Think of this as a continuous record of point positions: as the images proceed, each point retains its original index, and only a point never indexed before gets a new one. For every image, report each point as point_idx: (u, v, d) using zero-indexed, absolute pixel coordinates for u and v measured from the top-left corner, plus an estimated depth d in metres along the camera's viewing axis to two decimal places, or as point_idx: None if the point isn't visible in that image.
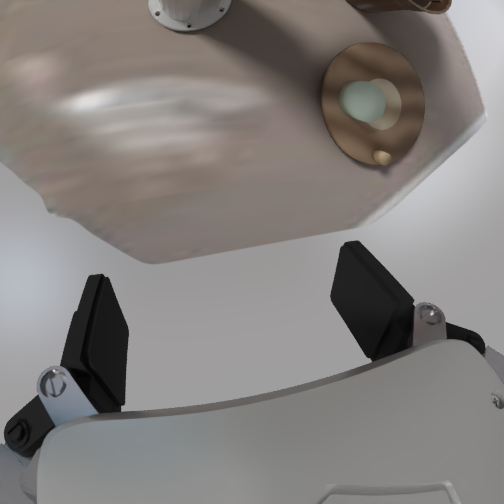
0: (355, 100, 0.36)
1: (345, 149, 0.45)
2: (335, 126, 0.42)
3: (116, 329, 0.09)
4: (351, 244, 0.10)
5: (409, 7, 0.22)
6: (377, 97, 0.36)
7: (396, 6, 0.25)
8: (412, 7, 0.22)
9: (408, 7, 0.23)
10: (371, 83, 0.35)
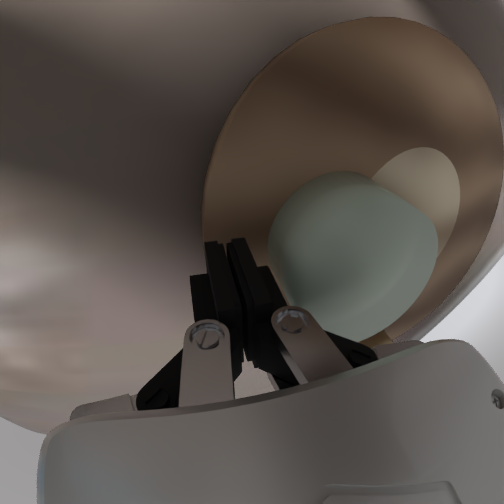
0: (318, 303, 0.10)
1: None
2: None
3: None
4: (233, 241, 0.11)
5: None
6: (413, 260, 0.10)
7: None
8: None
9: None
10: (403, 214, 0.09)
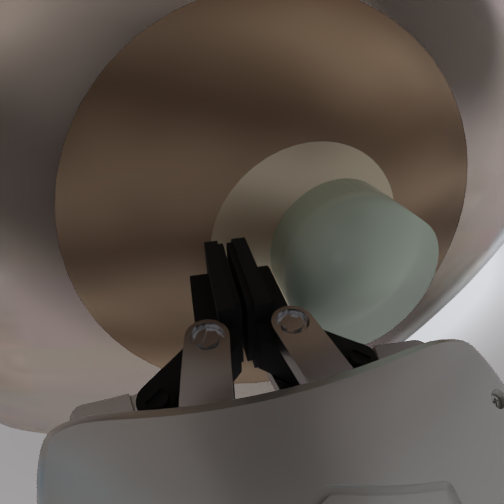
0: (321, 306, 0.10)
1: None
2: (138, 343, 0.14)
3: None
4: (233, 241, 0.11)
5: None
6: (414, 269, 0.10)
7: None
8: None
9: None
10: (409, 223, 0.09)
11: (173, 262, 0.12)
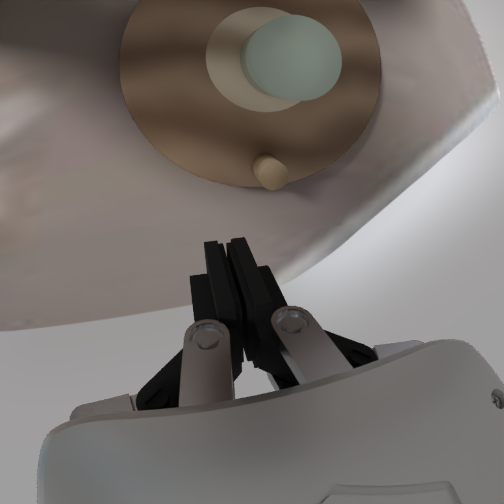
0: (263, 52, 0.15)
1: (182, 165, 0.22)
2: (149, 122, 0.20)
3: None
4: (233, 241, 0.11)
5: None
6: (321, 48, 0.16)
7: None
8: None
9: None
10: (306, 19, 0.14)
11: (184, 58, 0.17)
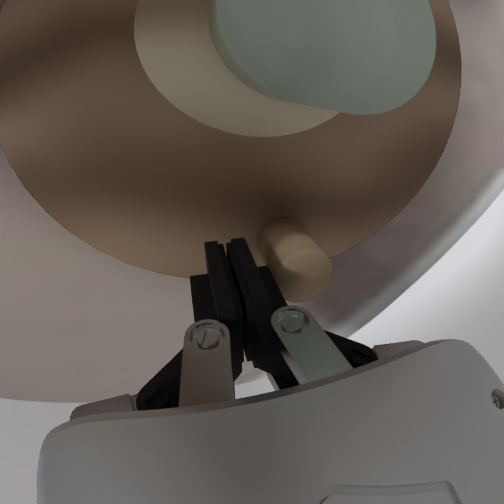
0: None
1: (127, 258, 0.12)
2: (52, 191, 0.09)
3: None
4: (233, 241, 0.11)
5: None
6: None
7: None
8: None
9: None
10: None
11: (91, 49, 0.07)
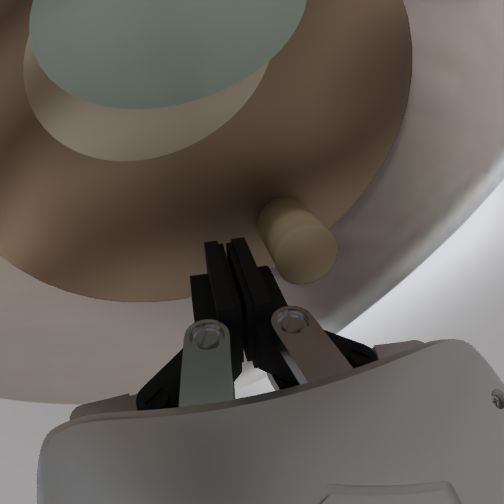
0: (67, 47, 0.04)
1: (152, 298, 0.13)
2: (64, 275, 0.11)
3: None
4: (233, 241, 0.11)
5: None
6: None
7: None
8: None
9: None
10: None
11: (21, 157, 0.08)
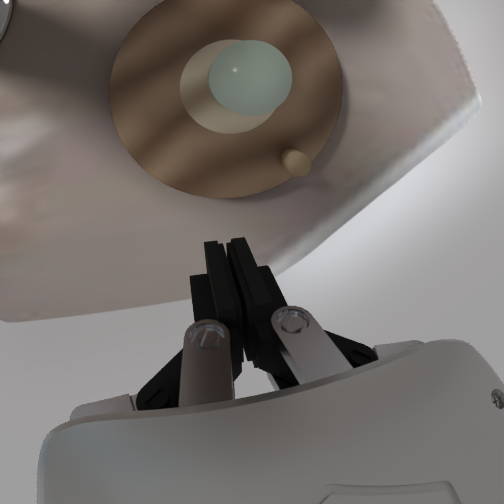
0: (226, 95, 0.20)
1: (234, 195, 0.30)
2: (191, 185, 0.28)
3: None
4: (233, 241, 0.11)
5: None
6: (261, 58, 0.19)
7: None
8: None
9: None
10: (233, 46, 0.18)
11: (178, 129, 0.25)
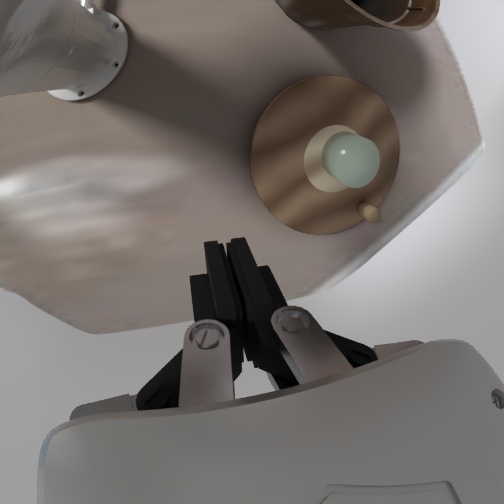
0: (343, 174, 0.33)
1: (327, 232, 0.43)
2: (302, 226, 0.41)
3: None
4: (233, 241, 0.11)
5: (369, 23, 0.18)
6: (365, 150, 0.32)
7: (352, 22, 0.20)
8: (373, 23, 0.17)
9: (368, 23, 0.18)
10: (351, 141, 0.31)
11: (300, 188, 0.37)
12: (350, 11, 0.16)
